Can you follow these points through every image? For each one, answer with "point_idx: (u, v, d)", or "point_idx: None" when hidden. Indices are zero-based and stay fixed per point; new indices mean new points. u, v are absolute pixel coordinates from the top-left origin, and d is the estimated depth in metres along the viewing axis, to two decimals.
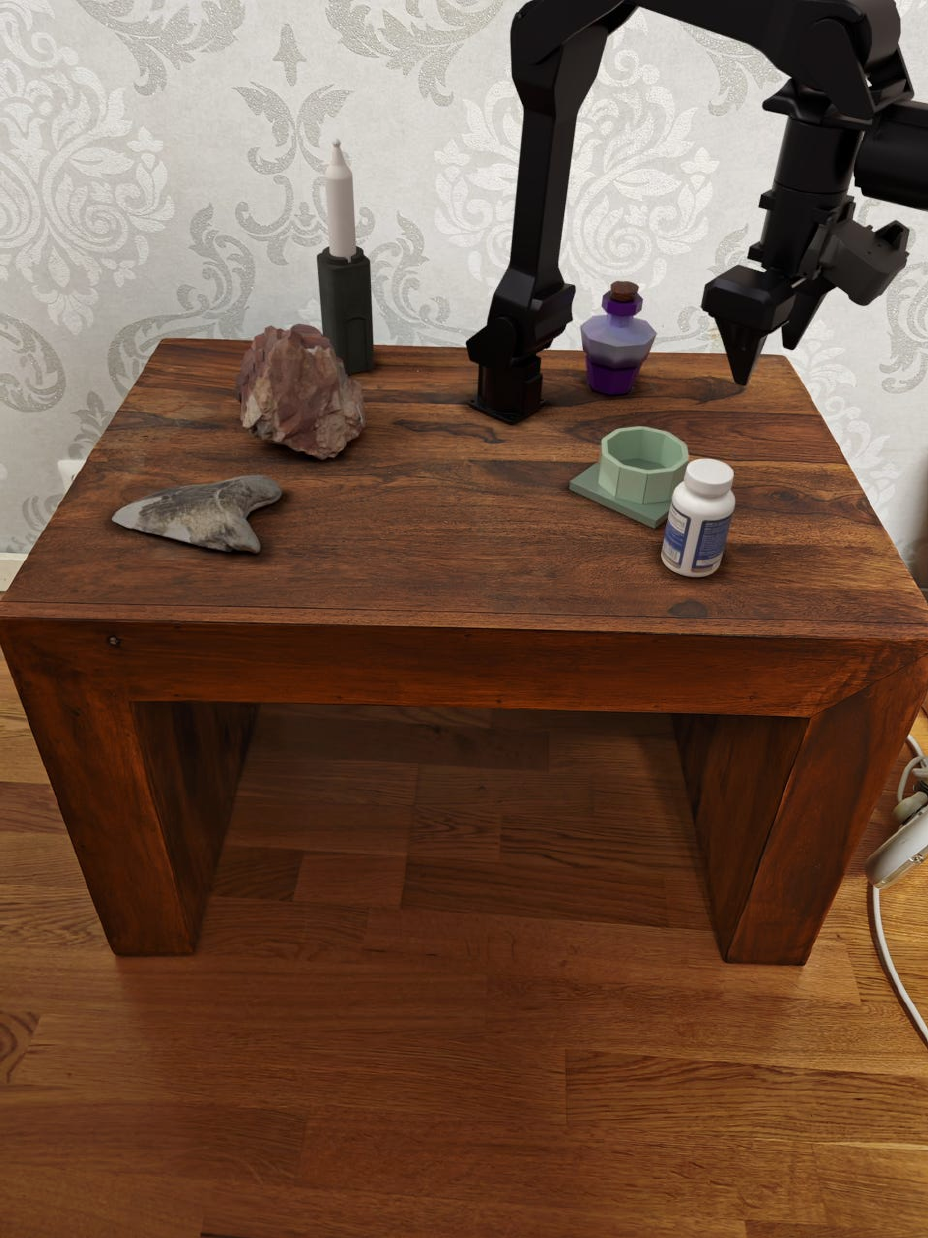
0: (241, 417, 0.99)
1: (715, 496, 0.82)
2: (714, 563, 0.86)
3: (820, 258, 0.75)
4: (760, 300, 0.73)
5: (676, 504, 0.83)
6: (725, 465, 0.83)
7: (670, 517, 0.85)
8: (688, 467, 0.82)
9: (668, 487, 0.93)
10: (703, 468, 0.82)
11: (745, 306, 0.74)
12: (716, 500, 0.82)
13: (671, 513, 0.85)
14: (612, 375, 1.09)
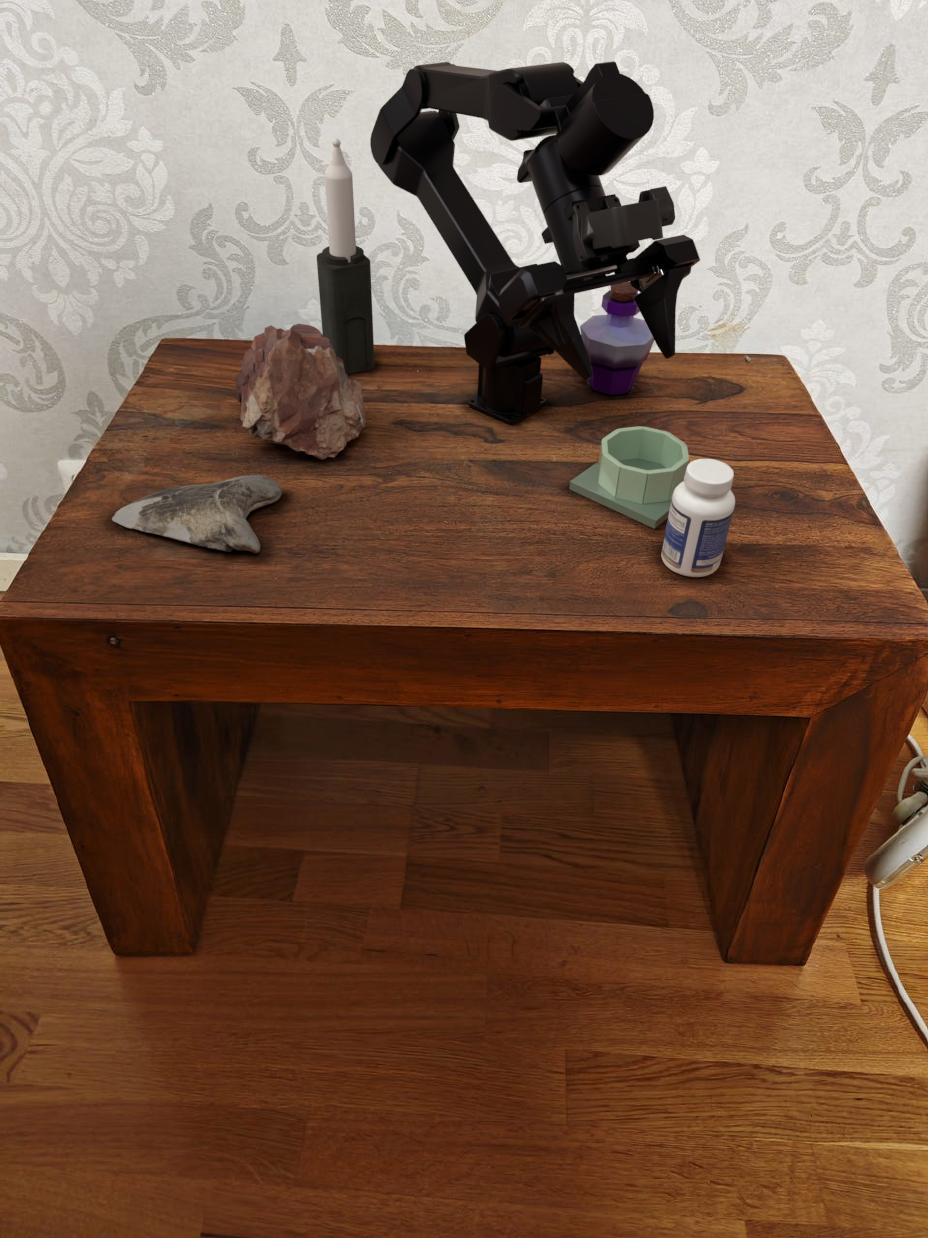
0: (241, 417, 0.99)
1: (715, 496, 0.82)
2: (714, 563, 0.86)
3: (582, 237, 0.83)
4: (518, 276, 0.82)
5: (676, 504, 0.83)
6: (725, 465, 0.83)
7: (670, 517, 0.85)
8: (688, 467, 0.82)
9: (668, 487, 0.93)
10: (703, 468, 0.82)
11: (515, 290, 0.83)
12: (716, 500, 0.82)
13: (671, 513, 0.85)
14: (612, 375, 1.09)
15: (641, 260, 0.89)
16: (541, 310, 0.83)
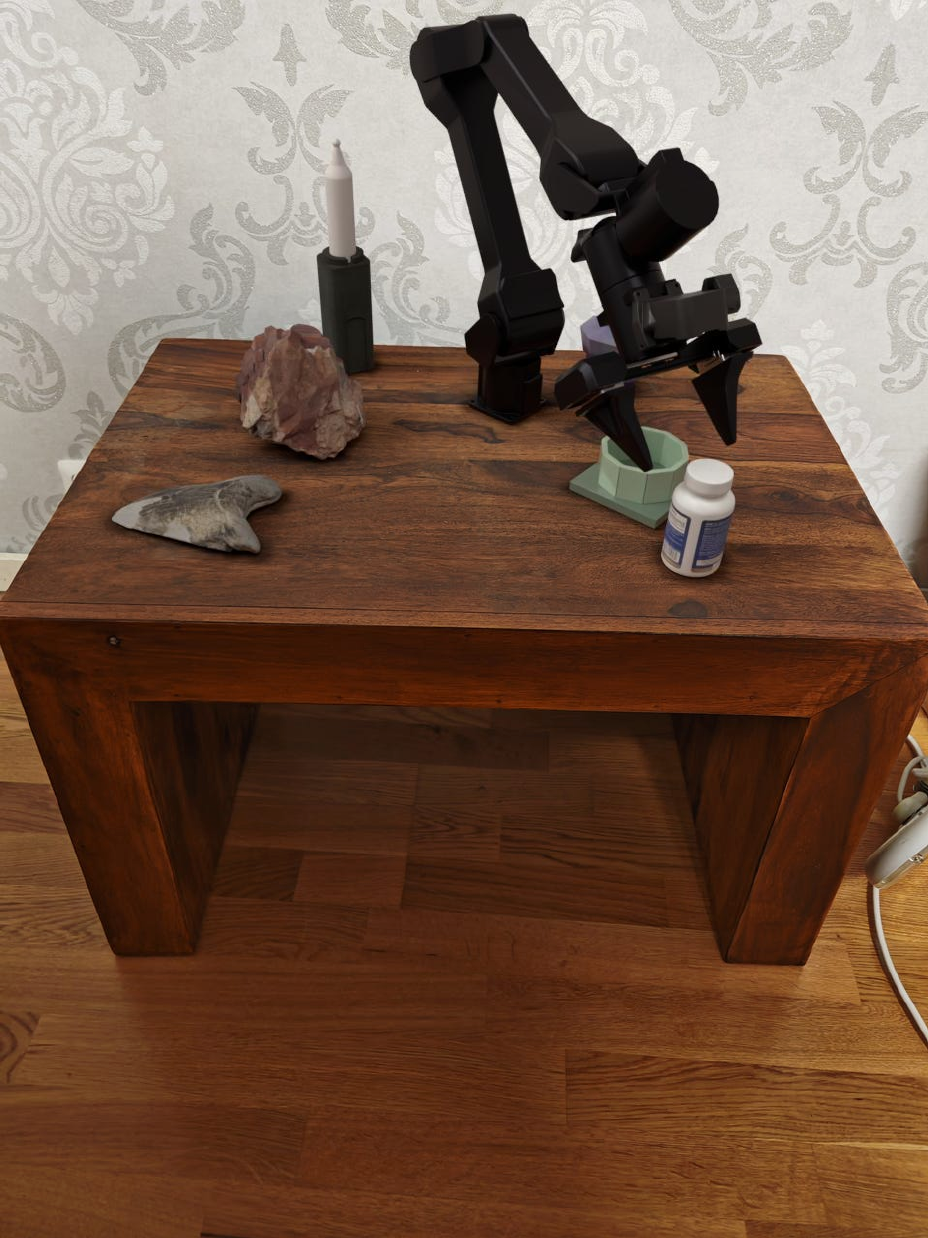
0: (241, 417, 0.99)
1: (715, 496, 0.82)
2: (714, 563, 0.86)
3: (643, 325, 0.80)
4: (576, 368, 0.78)
5: (676, 504, 0.83)
6: (725, 465, 0.83)
7: (670, 517, 0.85)
8: (688, 467, 0.82)
9: (668, 487, 0.93)
10: (703, 468, 0.82)
11: (573, 382, 0.79)
12: (716, 500, 0.82)
13: (671, 513, 0.85)
14: None
15: (701, 344, 0.85)
16: (600, 402, 0.79)
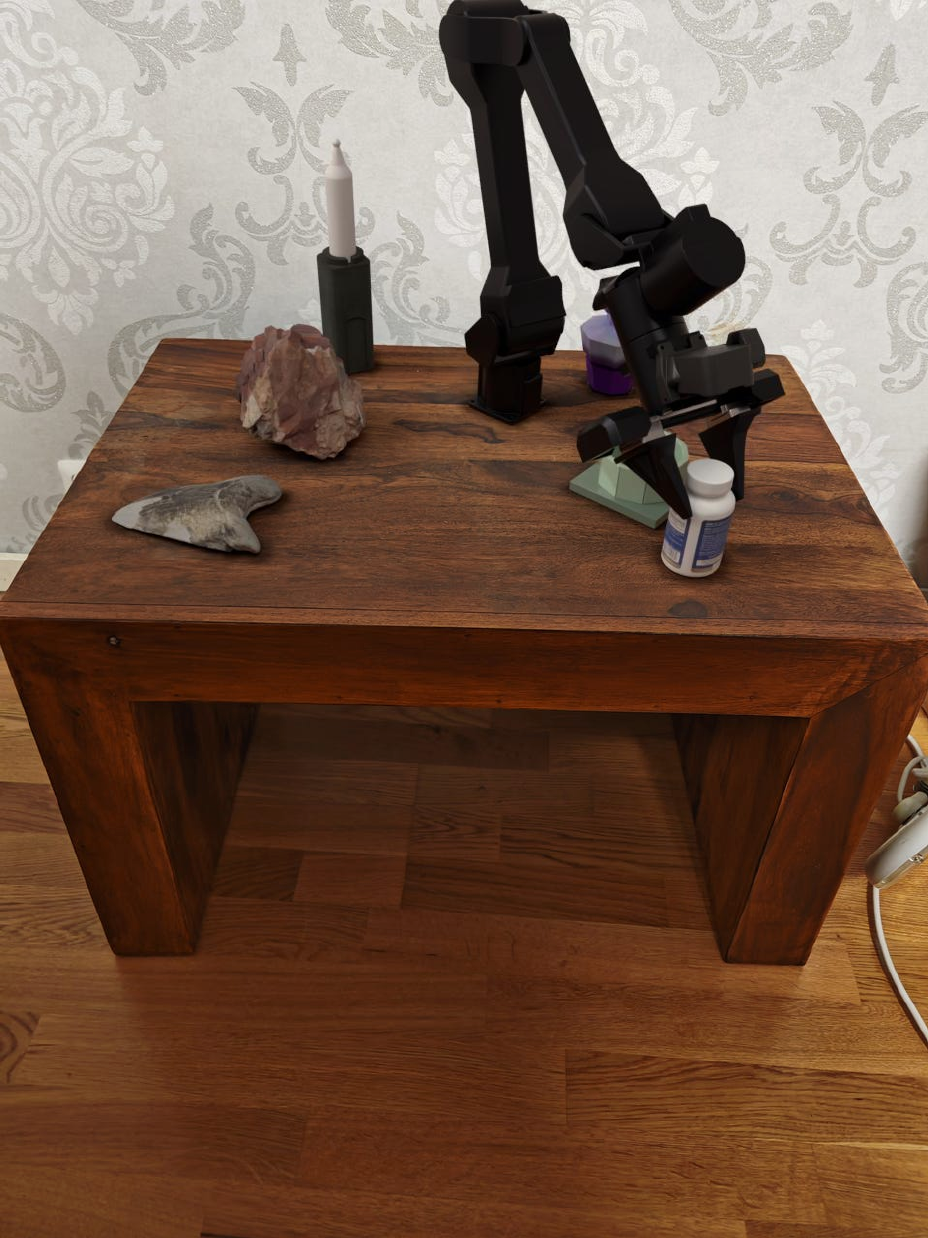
0: (241, 417, 0.99)
1: (715, 496, 0.82)
2: (714, 563, 0.86)
3: (667, 379, 0.79)
4: (600, 423, 0.78)
5: None
6: (725, 465, 0.83)
7: (670, 517, 0.85)
8: (688, 467, 0.82)
9: None
10: (703, 468, 0.82)
11: (596, 436, 0.79)
12: (716, 500, 0.82)
13: (671, 513, 0.85)
14: (612, 375, 1.09)
15: (723, 395, 0.84)
16: (641, 451, 0.80)
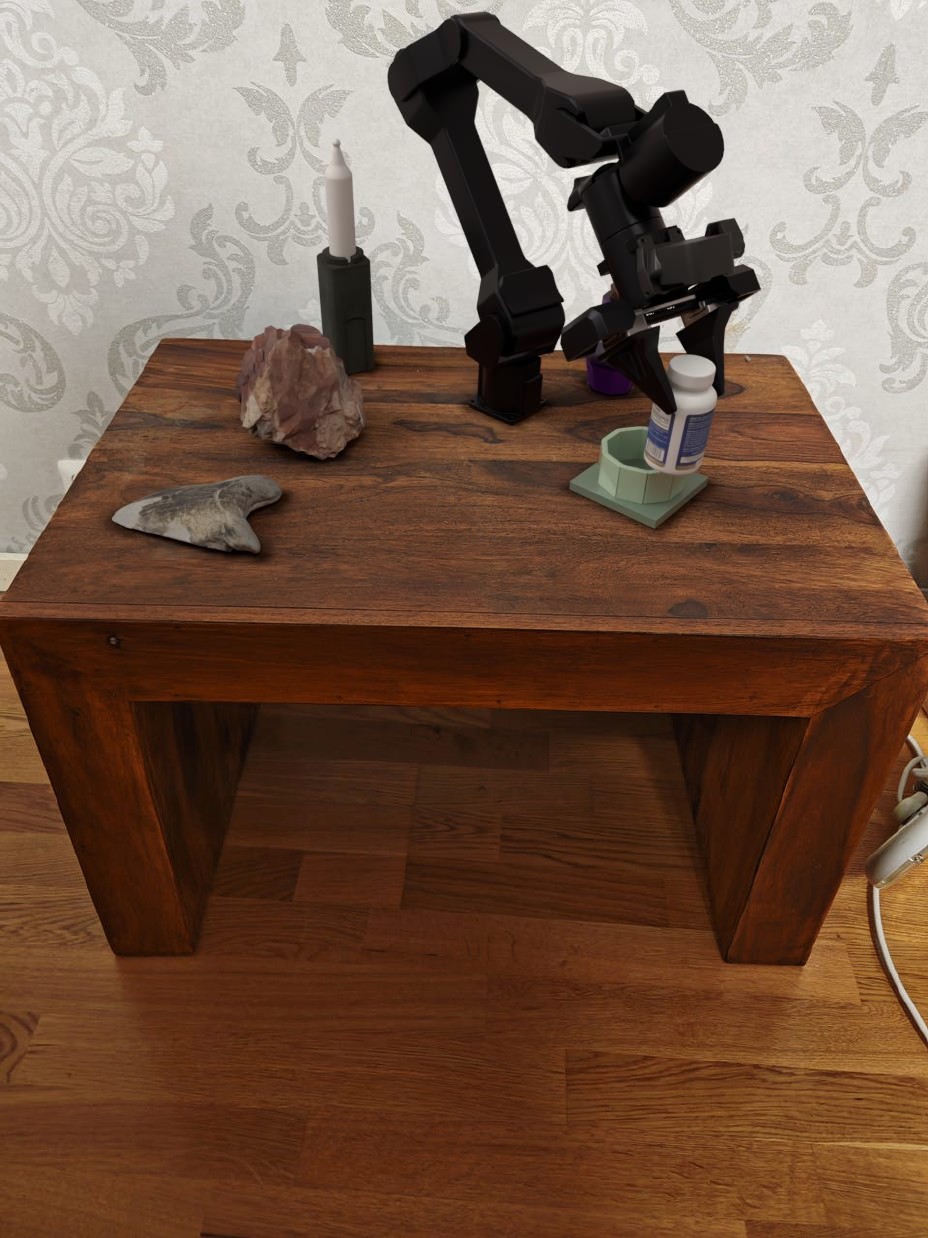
0: (241, 417, 0.99)
1: (698, 390, 0.83)
2: (697, 460, 0.87)
3: (648, 272, 0.79)
4: (586, 316, 0.78)
5: None
6: (706, 360, 0.84)
7: (653, 415, 0.86)
8: (671, 362, 0.83)
9: (668, 487, 0.93)
10: (685, 363, 0.83)
11: (582, 330, 0.79)
12: (699, 394, 0.83)
13: (654, 411, 0.85)
14: (612, 375, 1.09)
15: (701, 291, 0.85)
16: (626, 345, 0.80)
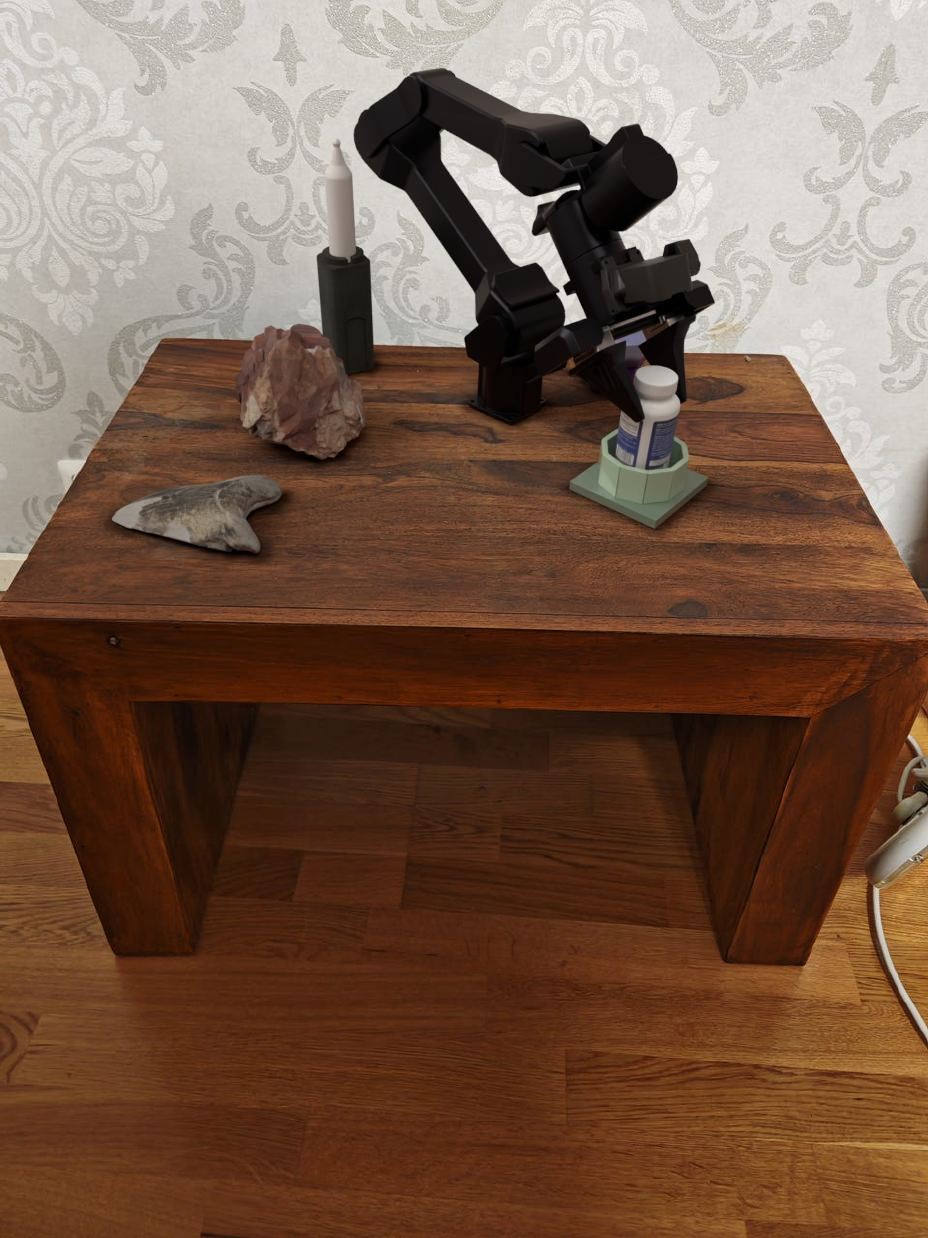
0: (241, 417, 0.99)
1: (663, 398, 0.89)
2: (664, 463, 0.93)
3: (613, 291, 0.85)
4: (558, 335, 0.84)
5: None
6: (669, 370, 0.90)
7: (622, 423, 0.92)
8: (636, 373, 0.89)
9: (668, 487, 0.93)
10: (650, 373, 0.89)
11: (555, 348, 0.85)
12: (664, 401, 0.89)
13: (623, 419, 0.91)
14: None
15: (660, 306, 0.92)
16: (595, 360, 0.86)
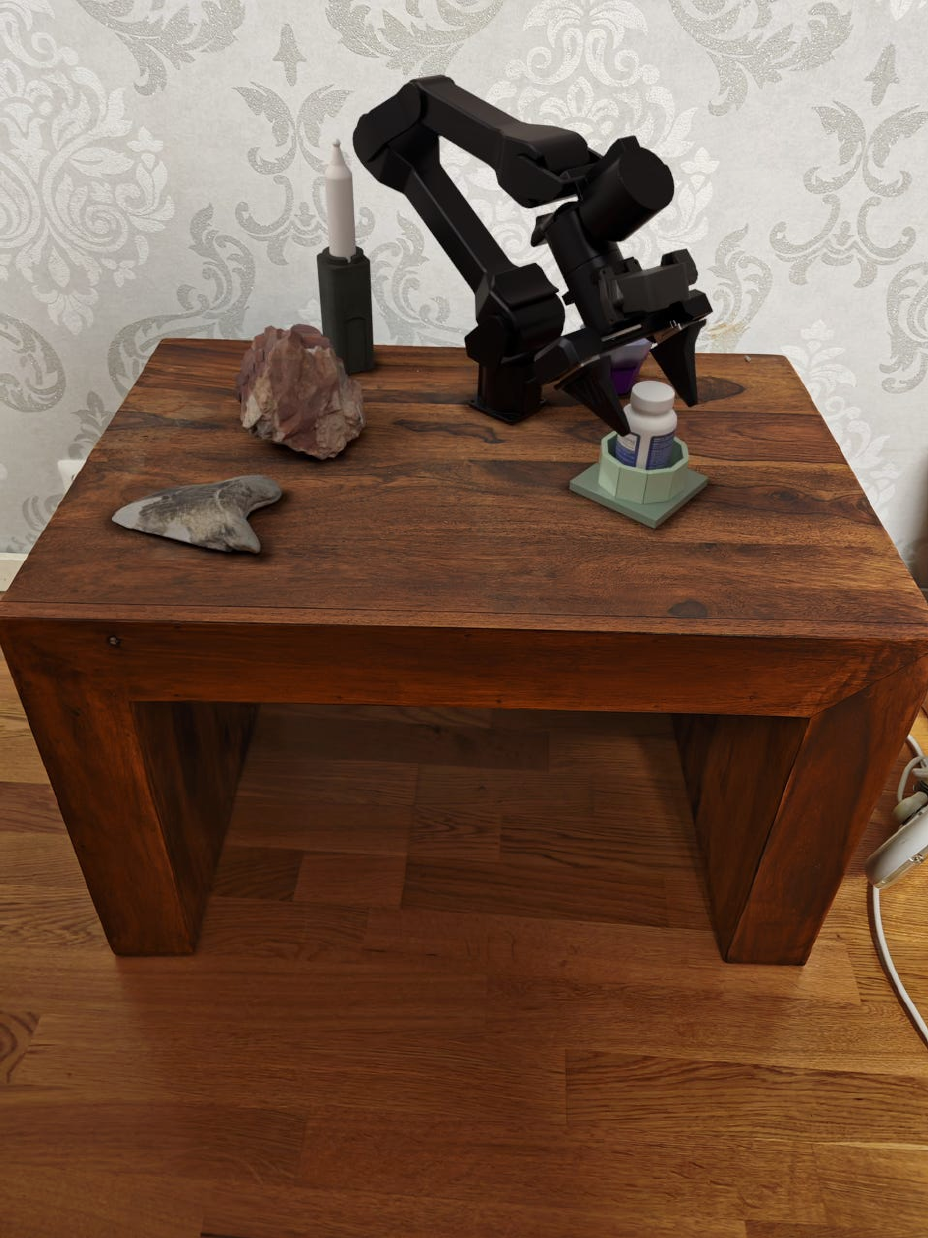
0: (241, 417, 0.99)
1: (660, 413, 0.90)
2: None
3: (611, 301, 0.86)
4: (557, 344, 0.84)
5: None
6: (665, 385, 0.91)
7: (620, 438, 0.93)
8: (633, 389, 0.90)
9: (668, 487, 0.93)
10: (647, 389, 0.90)
11: (554, 357, 0.85)
12: (661, 416, 0.90)
13: None
14: (612, 375, 1.09)
15: (658, 316, 0.92)
16: (580, 375, 0.86)
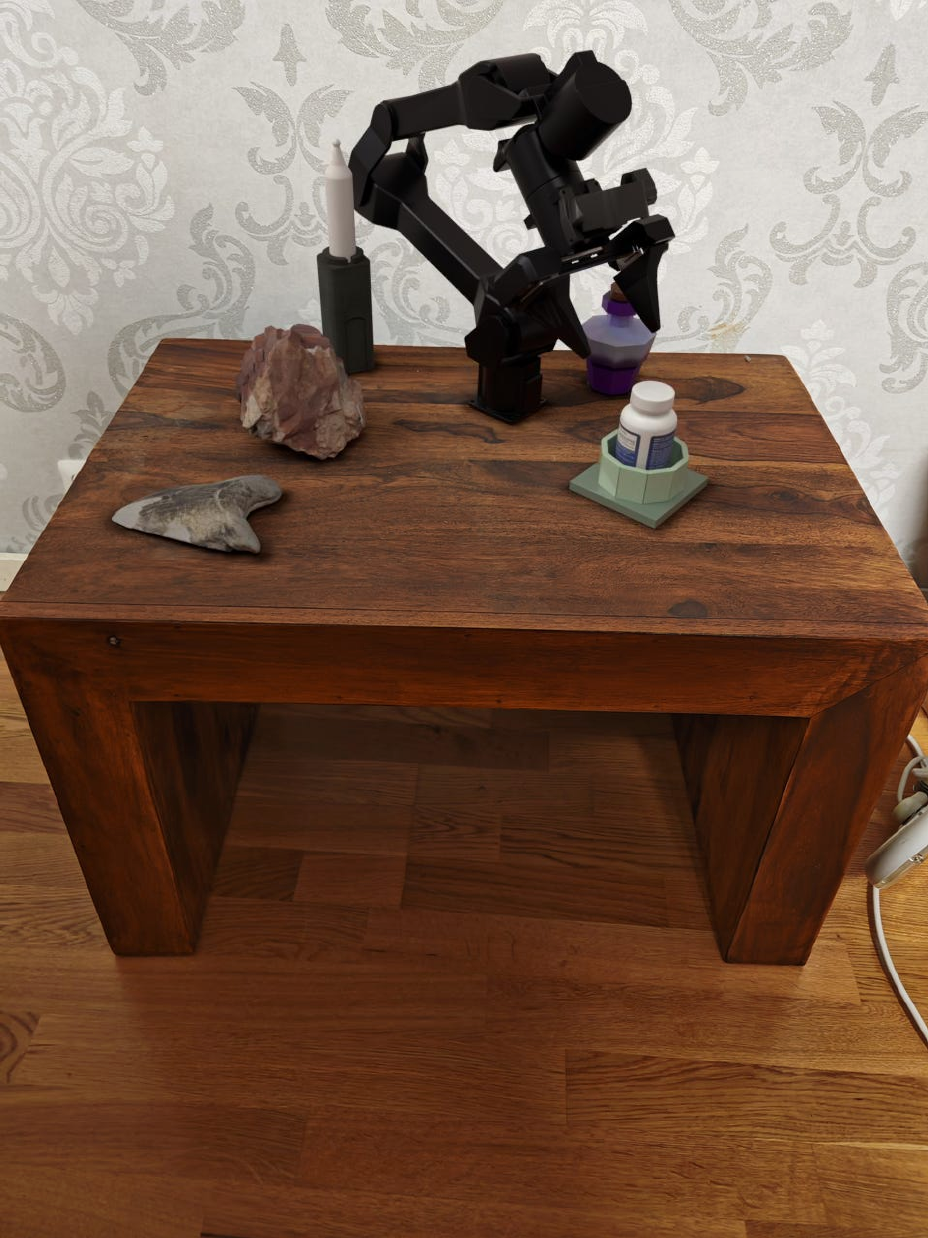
0: (241, 417, 0.99)
1: (660, 413, 0.90)
2: None
3: (571, 220, 0.86)
4: (516, 262, 0.84)
5: (625, 424, 0.91)
6: (665, 385, 0.91)
7: (620, 438, 0.93)
8: (633, 389, 0.90)
9: (668, 487, 0.93)
10: (647, 389, 0.90)
11: (513, 276, 0.85)
12: (661, 416, 0.90)
13: (621, 434, 0.92)
14: (612, 375, 1.09)
15: (620, 240, 0.92)
16: (539, 294, 0.86)
